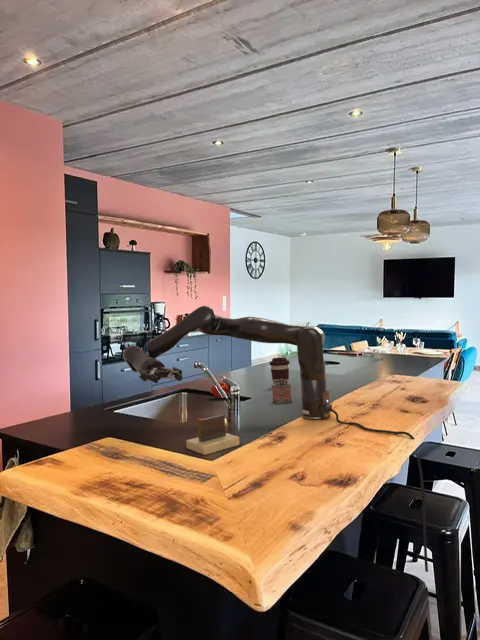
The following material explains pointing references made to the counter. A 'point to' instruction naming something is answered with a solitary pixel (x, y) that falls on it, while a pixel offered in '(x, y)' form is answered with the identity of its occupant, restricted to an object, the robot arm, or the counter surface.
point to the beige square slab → (212, 444)
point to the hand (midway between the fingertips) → (169, 379)
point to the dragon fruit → (215, 392)
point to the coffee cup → (279, 369)
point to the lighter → (281, 391)
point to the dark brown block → (211, 428)
